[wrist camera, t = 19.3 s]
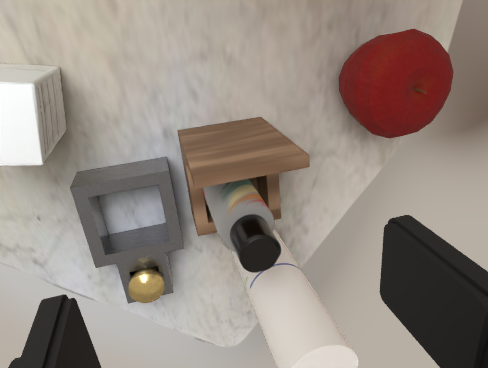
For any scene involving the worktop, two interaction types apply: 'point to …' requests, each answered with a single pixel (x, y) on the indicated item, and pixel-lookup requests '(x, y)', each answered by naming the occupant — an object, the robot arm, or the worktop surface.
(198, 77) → the worktop surface
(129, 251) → the socket
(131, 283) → the pin
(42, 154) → the supplement box
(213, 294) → the worktop surface
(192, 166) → the rack
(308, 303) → the cylindrical container
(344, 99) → the apple
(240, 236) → the lotion bottle
